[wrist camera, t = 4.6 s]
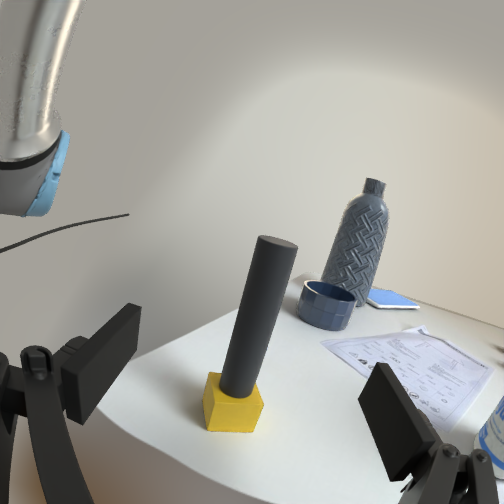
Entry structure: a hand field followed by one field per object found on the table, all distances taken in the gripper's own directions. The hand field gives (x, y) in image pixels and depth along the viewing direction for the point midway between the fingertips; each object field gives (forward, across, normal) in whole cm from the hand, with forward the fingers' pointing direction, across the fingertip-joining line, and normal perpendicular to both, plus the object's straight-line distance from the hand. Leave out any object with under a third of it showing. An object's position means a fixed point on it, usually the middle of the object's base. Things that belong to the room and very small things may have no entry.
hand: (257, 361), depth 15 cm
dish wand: (+7, 0, -11) cm, 13 cm away
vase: (+53, +23, -11) cm, 59 cm away
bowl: (+36, +14, -11) cm, 41 cm away
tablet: (+59, +38, -11) cm, 71 cm away
